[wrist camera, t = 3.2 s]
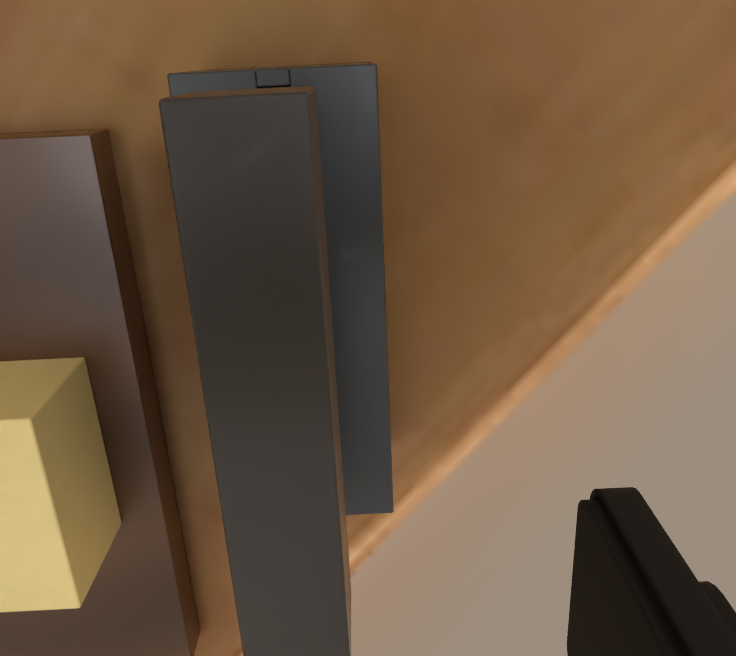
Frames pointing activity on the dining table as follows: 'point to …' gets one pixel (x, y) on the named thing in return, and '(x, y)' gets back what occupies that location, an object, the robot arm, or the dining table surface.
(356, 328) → the scraper stand
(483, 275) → the dining table surface
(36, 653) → the cutting board
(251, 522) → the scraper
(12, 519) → the butter
